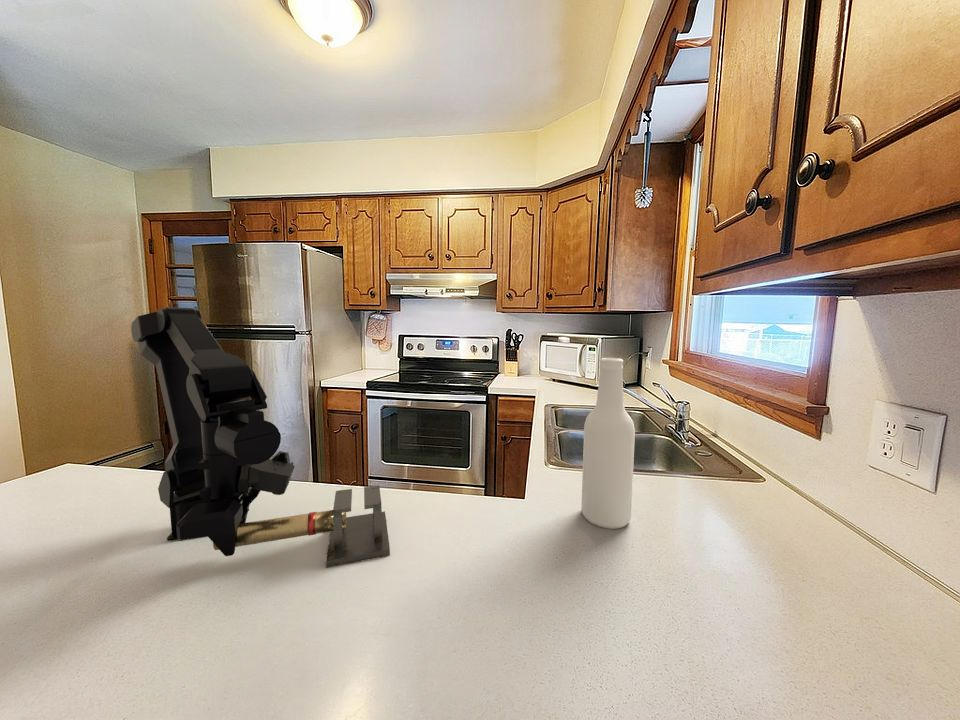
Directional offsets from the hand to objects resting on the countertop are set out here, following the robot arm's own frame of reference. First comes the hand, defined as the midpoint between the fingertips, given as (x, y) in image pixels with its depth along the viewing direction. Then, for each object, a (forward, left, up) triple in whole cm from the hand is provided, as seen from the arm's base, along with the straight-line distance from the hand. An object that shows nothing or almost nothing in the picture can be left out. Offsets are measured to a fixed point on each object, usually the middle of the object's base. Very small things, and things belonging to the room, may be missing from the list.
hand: (233, 548), depth 54 cm
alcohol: (+62, -7, -2) cm, 62 cm away
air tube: (+7, 0, 0) cm, 7 cm away
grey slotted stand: (+18, 0, -2) cm, 18 cm away
